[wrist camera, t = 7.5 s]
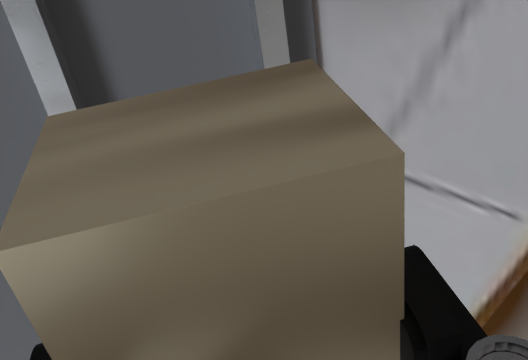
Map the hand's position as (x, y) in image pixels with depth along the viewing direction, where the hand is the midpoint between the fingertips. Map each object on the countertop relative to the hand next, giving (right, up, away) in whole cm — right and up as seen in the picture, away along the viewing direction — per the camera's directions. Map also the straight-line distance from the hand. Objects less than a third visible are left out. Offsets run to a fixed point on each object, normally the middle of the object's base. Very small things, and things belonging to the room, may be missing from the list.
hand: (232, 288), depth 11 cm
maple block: (0, 0, +1) cm, 1 cm away
